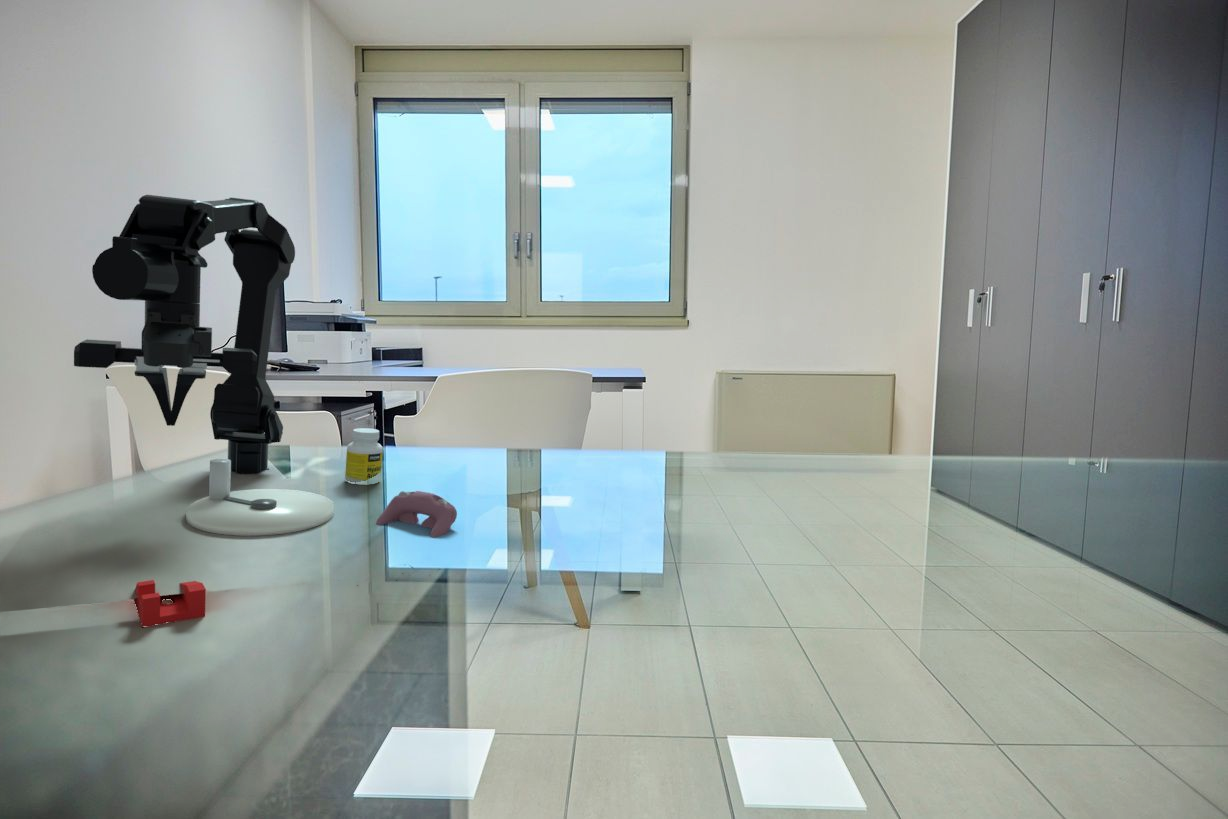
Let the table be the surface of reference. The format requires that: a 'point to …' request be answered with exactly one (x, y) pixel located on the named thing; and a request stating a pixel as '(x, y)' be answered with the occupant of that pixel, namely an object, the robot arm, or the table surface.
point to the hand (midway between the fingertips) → (171, 425)
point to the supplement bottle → (363, 455)
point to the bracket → (179, 610)
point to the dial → (255, 508)
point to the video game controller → (420, 511)
